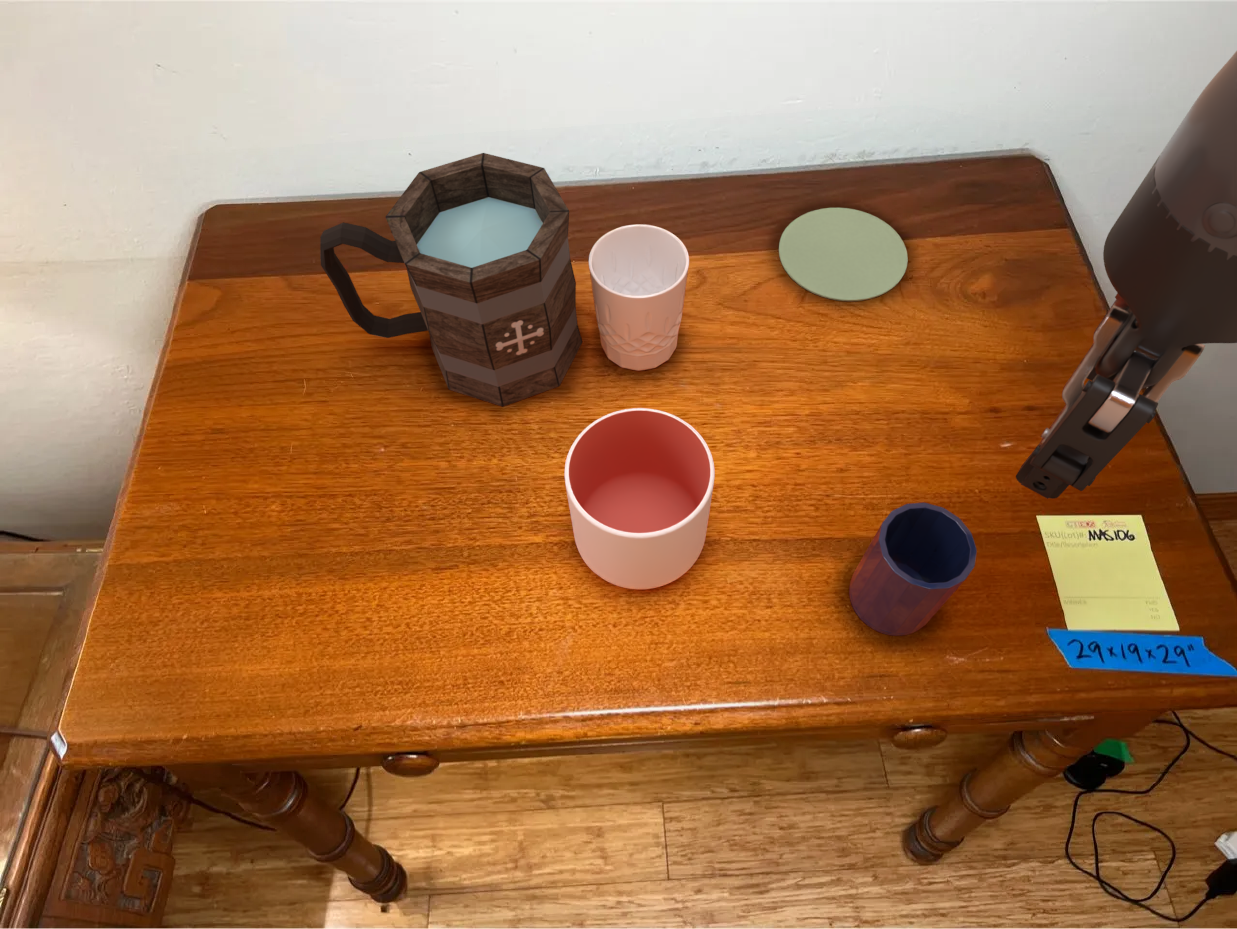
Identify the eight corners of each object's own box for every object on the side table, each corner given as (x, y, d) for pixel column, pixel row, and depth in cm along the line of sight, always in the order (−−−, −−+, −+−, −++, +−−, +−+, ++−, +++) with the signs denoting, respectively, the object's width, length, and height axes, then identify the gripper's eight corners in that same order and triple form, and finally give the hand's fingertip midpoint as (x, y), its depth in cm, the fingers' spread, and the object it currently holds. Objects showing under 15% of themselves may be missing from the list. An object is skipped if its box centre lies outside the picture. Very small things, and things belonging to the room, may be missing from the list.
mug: (582, 285, 76) (570, 149, 63) (582, 404, 69) (568, 279, 56) (373, 291, 76) (318, 158, 63) (351, 411, 69) (285, 288, 56)
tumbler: (937, 572, 60) (981, 517, 53) (926, 647, 58) (970, 600, 50) (857, 549, 62) (888, 492, 54) (841, 621, 59) (872, 572, 51)
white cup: (597, 306, 74) (591, 223, 66) (683, 308, 74) (688, 224, 65) (592, 376, 70) (585, 296, 62) (683, 377, 70) (689, 298, 61)
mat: (916, 223, 79) (916, 222, 79) (895, 314, 73) (896, 312, 73) (794, 198, 81) (794, 196, 81) (765, 284, 75) (765, 282, 75)
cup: (729, 517, 63) (742, 450, 54) (659, 620, 59) (662, 565, 50) (622, 457, 66) (619, 384, 58) (549, 551, 62) (533, 487, 53)
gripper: (1329, 361, 26) (1086, 566, 40) (1424, 122, 31) (1182, 376, 45) (1094, 259, 28) (943, 486, 42) (1222, 54, 34) (1051, 315, 48)
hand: (1067, 429), depth 44 cm, fingers open, 8 cm apart
